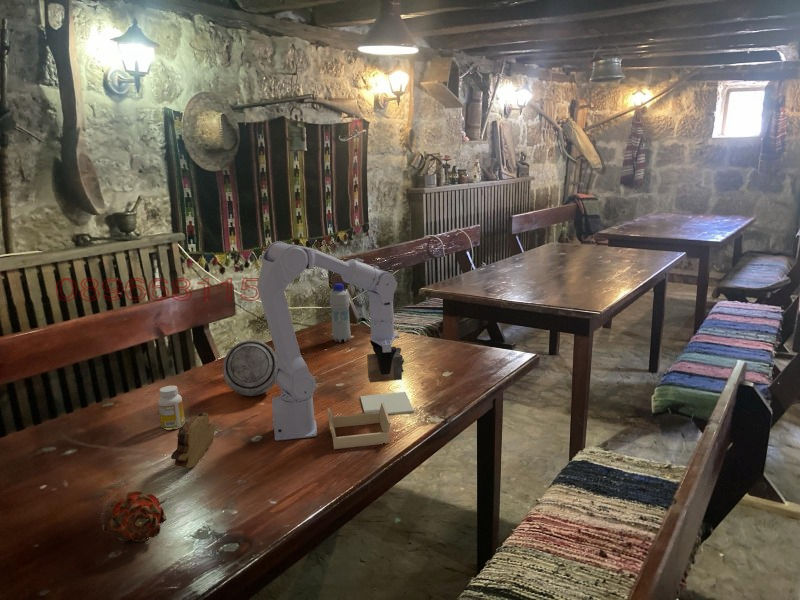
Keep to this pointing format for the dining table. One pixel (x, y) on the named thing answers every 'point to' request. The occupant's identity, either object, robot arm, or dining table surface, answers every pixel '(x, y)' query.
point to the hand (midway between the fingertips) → (384, 370)
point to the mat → (387, 403)
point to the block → (374, 369)
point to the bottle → (340, 313)
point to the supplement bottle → (170, 407)
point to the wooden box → (360, 420)
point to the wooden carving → (193, 440)
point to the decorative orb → (250, 368)
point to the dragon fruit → (136, 517)
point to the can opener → (401, 357)
